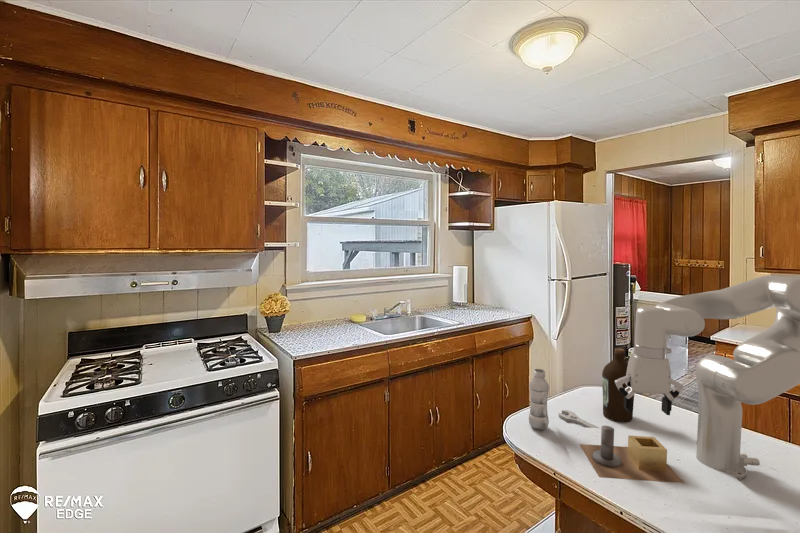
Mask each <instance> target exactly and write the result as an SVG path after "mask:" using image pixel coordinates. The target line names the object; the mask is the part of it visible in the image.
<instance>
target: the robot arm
mask: <svg viewBox="0 0 800 533" xmlns="http://www.w3.org/2000/svg"><path fill="white" fill-rule="evenodd" d="M772 308H776V310H775V311H776V312H775V317H774V318H775V319H774V322H773V324H772V325H771V326H770V327H768V328H767V329H765V330H763V331H761V332H760V333H758V334H756V335H754V336H752V337H750V338H748V339H746V340H745V341H743V342H741V343H740V344H738V345H737V346H736V347H735V349H734V350H733V353H732V356H733V359H732V358H728V357H725V356H722V355H717V354H710V355H707V356H704V357H702V358H701V359H700V360H699V361H698V362H697V364H696V368H695V376H696V381H697V382H696V383H697V389H698V413H697V430H696V431H697V435H696V436H697V437H696V452H695V453H696V454H695V457H696V460H698V462H699V463H701V464H702V465H704V466H706V467H708V468H711V469H713V470H717V471H721V472H725V473H726V472H727V473H729V474H731V475H732V477H734V478H735V479H736V480H742V479H744V478H747V475H748V474H747V472H748V470H747V468H746V467H747V466H760V465H761V463H760V459H759V458H757V457H748V455H747V454H746V453H741V444H742V442H741V441H742V440H741V439H742V427H743V426H742V424H743V406H742V404H746V405H753V406H754V405H761V404H764V403H766V402H768V401H770V400H772V399H774V398H776V397H778V396H780V395H782V394H784V393H785V392H787V391H789V390H791V389H793V388H795V387H797V386H798V385H799V384H800V277H791V276H781V275H780V276H779V275H763V276H759V277H756V278H753V279H749V280H747V281H742V282H740V283H737V284H734V285H731V286H729V287H725V288H721V289H718V290H717V289H716V290H711V291H710V290H709V291H705V292H704V291H703V292H699V293H698V292H697V293H691V294H685V295H682V296H681V295H680V296H677V297H674V298H671V299H668V300H665V301H662V302H660V303H658V304H656V305H655V306H640V307H638V308H637V309H636V311H635V328H634V329H635V330H634V345H633V346H634V347H633V348H634V349H633V353H631V354H630V356H629V358H628V362H627V363H628V367H627V373H626V376H624V377H622V378H619V379H617V380H615V381H614V382H615V384H616V386H617V388H618V390H619V391H620V392H621V393H622V394H623V395H624V408H625V409H626V410H627V411H628V412H629V413H632V409H633V410H634V404H633V399H632V398H631V397H632V396H633V395H634V396H635V394H636V393H637V394H652V395H655V394H656V395H663V396H662V397H661V409H660V410H661V412H663V413H664V414H665V415H666V416H671V411H672V405H673V404H672V403H673V402H674V401H675V399H676V398H677V397H678V396H680V392H682V390H683V388H684V385H683V384H682V383H680V382H678V381H676V380H674V379H672V371H671V363H670V361H669V358H668V354H672V353H673V352H672V348H669V347H668V335H671V336H678V337H679V336H680V337H685V338H686V337H689V338H691V337H695V336H697V335H699V334H701V333H702V332H703V331H704V329H705V325H706V322H705V319H712V320H736V319H742V318H744V317H746V316H750V315H752V314H753V315H754V314H755V313H759V312H762V311H766V310H768V309H772ZM624 383H626V386H628V387H627V388H626V389H625V390H624V388H623V386H622V384H624ZM672 386H674V387H673V389H672Z"/></svg>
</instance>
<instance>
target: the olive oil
mask: <svg viewBox="0 0 800 533" xmlns="http://www.w3.org/2000/svg"><path fill="white" fill-rule="evenodd" d="M625 351H626V350H625V349H624V348H620V347H616V348H614V351H613V359H612V360H610V362H608V363H607V364H605V366H604V367H603V370H602V372H601V379H602V380H601V383H602V385H601V386H602V414H603V417H605V418H606V419H608V420H610V421H613V422H616V423H631V422H632V421H633V417H634V416H633V415H634V408H633V409H632V413H629V412H628V411H627V410H626V409H625V408H624V395H623V394H622V393H621V392H620V391H619V390H618V388H617V386H616V384H615V382H614V381H615V380H617V379H619V378H622V377H624V376H626V373H627V367H628V362H627V361H626V360H625V358H626V353H625ZM622 386H623V388H624V390H625V389H626V388H627V387H628V386H626V383H624V384H622ZM631 398H632V399H633V405H634V404H635V403H634V401H635V394H634V395H633V396H632V397H631Z"/></svg>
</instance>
